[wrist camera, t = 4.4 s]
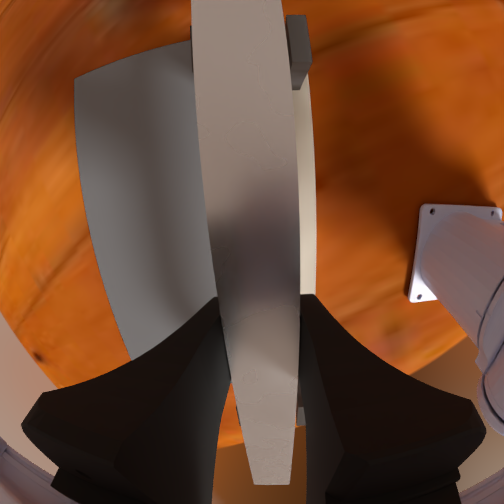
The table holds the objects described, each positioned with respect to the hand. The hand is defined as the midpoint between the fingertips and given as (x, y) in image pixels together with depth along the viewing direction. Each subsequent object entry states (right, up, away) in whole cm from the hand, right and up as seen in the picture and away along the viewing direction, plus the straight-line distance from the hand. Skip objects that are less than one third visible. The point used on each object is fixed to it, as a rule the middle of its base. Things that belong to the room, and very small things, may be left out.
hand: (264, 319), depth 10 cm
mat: (-8, +3, +10) cm, 13 cm away
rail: (0, 0, 0) cm, 0 cm away
